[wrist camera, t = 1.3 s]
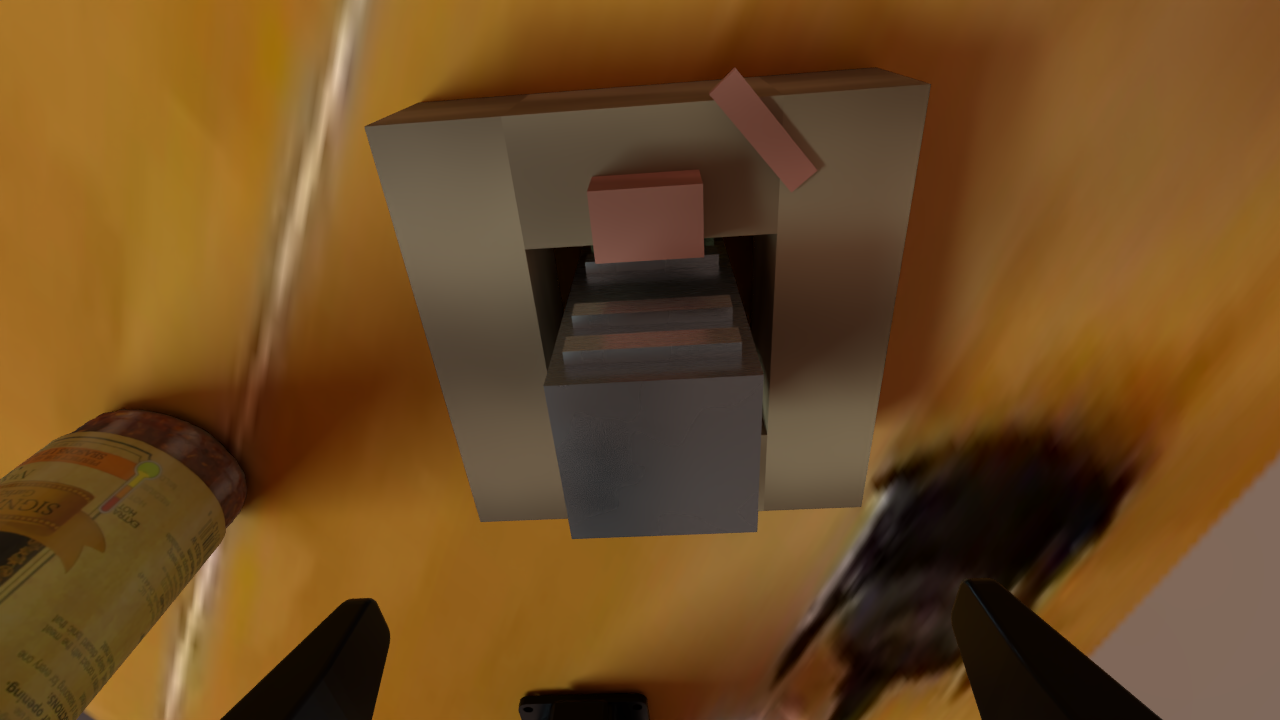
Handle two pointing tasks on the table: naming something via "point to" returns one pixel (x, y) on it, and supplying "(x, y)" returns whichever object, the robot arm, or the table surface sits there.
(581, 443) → the column
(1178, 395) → the table surface
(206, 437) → the sauce bottle
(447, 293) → the stand base
